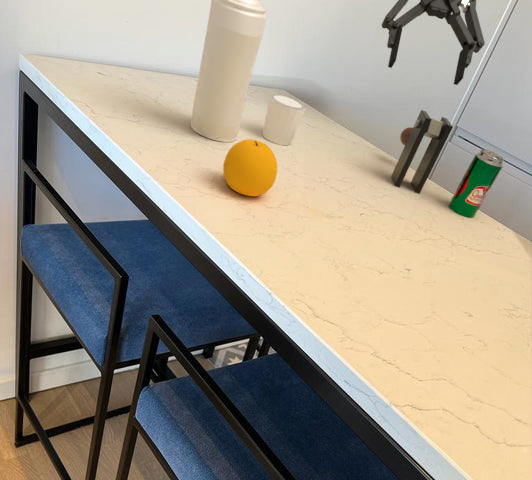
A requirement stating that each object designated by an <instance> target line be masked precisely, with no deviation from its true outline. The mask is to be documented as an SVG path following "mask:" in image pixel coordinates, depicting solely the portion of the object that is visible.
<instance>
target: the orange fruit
mask: <svg viewBox="0 0 532 480" xmlns="http://www.w3.org/2000/svg"><path fill="white" fill-rule="evenodd" d="M222 169H223V176H224V179H225V180H224V181H225V182H226V184H227V185H228V186H229V187H230V188H231V189H232V191H234V192H237V193H238V194H241V195H244V196H247V197H258V196H263V195H264V194H267V193H268V191H270V190H271V188H272V187H273V186H274V184H275V182H276V180H277V174H278V162H277V158H276V156H275V153H274V151H273V150H272V148H271V147H269V146H268V144H266V143H265V142H262V141H261V140H260V141H259V140H256V139H252V138H250V139H249V138H248V139H247V138H246V139H243V140H241V141H238V142H236V143H235V144H233V145H232V146H231V147H230V148H229V150H228V151H227V154H226V155H225V159H224V162H223V168H222Z"/></svg>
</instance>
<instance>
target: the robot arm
mask: <svg viewBox="0 0 532 480" xmlns="http://www.w3.org/2000/svg"><path fill="white" fill-rule="evenodd" d="M408 2H409V0H397V2H396V3H395V4H394V5H393V6H392V7H391V9H390V10H389V11H388V13H386V15H385V17H384V18H383V20H382V23H381V28H382V29H387V30H388V37H387V38H388V39H387V43H386V46H387V48H388V49H391V50H390V55H389V58H388V59H389V60H388V64H387V68H390V69H392V68H393V66H394V64H395V63H396V61H397V56H398V52H399V49H400V48H399V46H400V42H401V38H402V32H403V28H405V26H406V25H408V24H410V23H411V22H412V21H414V20H415V19H416V18H417V17H420V16H422V15H423V14H424V13H426V14H427V16H429V17H435V18H438V19H439V20H443V19H445V21H446V23H447V25H449V26H450V28H451V29H452V31H453V33H454V34H455V37H456V39H457V41H458V43H459V44H460V46H461V48H462V49H461V50H460V52H459V55H458V59H457V65H456V70H455V75H454V81H453V85H456V86H458V85H459V83H460V82H462V80H463V79H464V76H465V70H466V69H467V68H468V67H469V66H470V65H471V63H472V60H473V59H472V58H473V53H475V54H477V53H479V52H480V51H481V50H482V48H483V47H484V46H485V43H486V42H485V37H484V34H483V31H482V27H481V24H480V20H479V16H478V12H477V0H420V1H419V2H418V3H417V4H416V5H414V6H413V7H411V8H410V9H409V10H407V11H406V12H405V13H403V14H402V15H400V16H399V17H398V18H397V19H395V18H396V17H397V16H398V14H400V12H401V11H402V9H403V8H404V7H405V6H406V5H407V4H408ZM460 7H461V9H460ZM461 10H462V13H463V14H464V18H463V17H462V15H461Z"/></svg>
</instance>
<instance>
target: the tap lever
mask: <svg viewBox="0 0 532 480" xmlns="http://www.w3.org/2000/svg"><path fill="white" fill-rule="evenodd" d="M430 118H431V122H430V124H429V126H428V128H427V130H426V132H425V134H424V136H423V137H426V138H429V139H432V138H435V137H438V136H439V134H440V131H441V128H442V125H443V122H441V121H440V120H438V119H435V118H432V117H430ZM412 129H413V126H412V127H411V126H410V127H409V126H408V127H406V128H404V129H403V130H402V131H401V133H400V136H399V137H400V138H399V139H400V142H401V144H402V145H403V146H405V145H406V142H407V140H408V138H409V136H410V134H411V131H412Z"/></svg>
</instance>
